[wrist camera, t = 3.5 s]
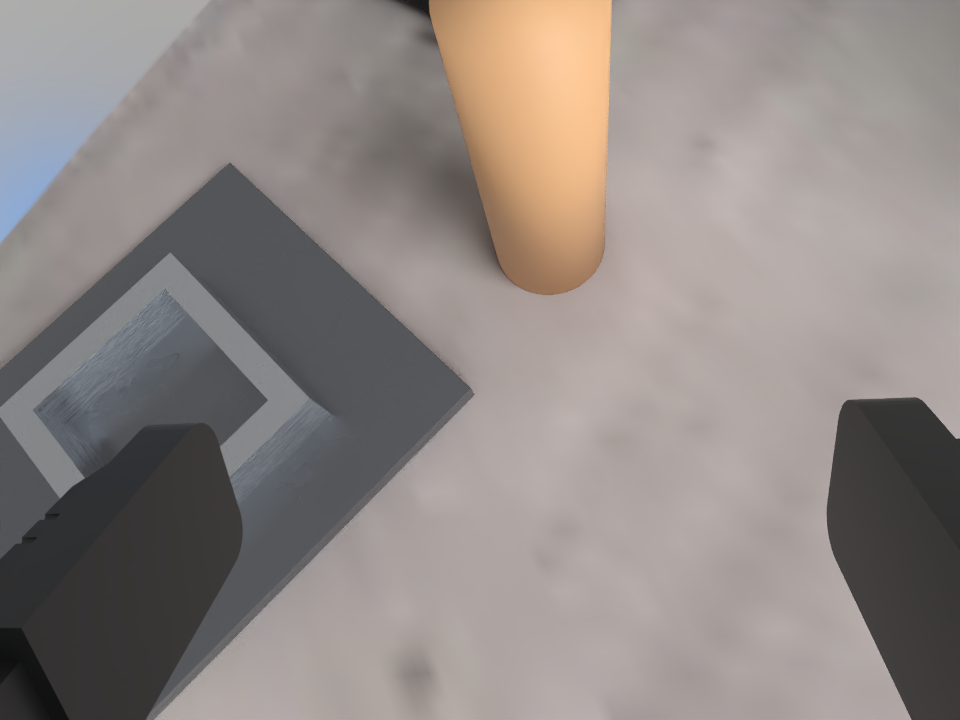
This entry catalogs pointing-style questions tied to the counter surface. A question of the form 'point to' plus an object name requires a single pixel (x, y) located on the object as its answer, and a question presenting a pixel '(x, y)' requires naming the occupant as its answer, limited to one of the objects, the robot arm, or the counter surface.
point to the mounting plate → (227, 390)
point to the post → (534, 128)
